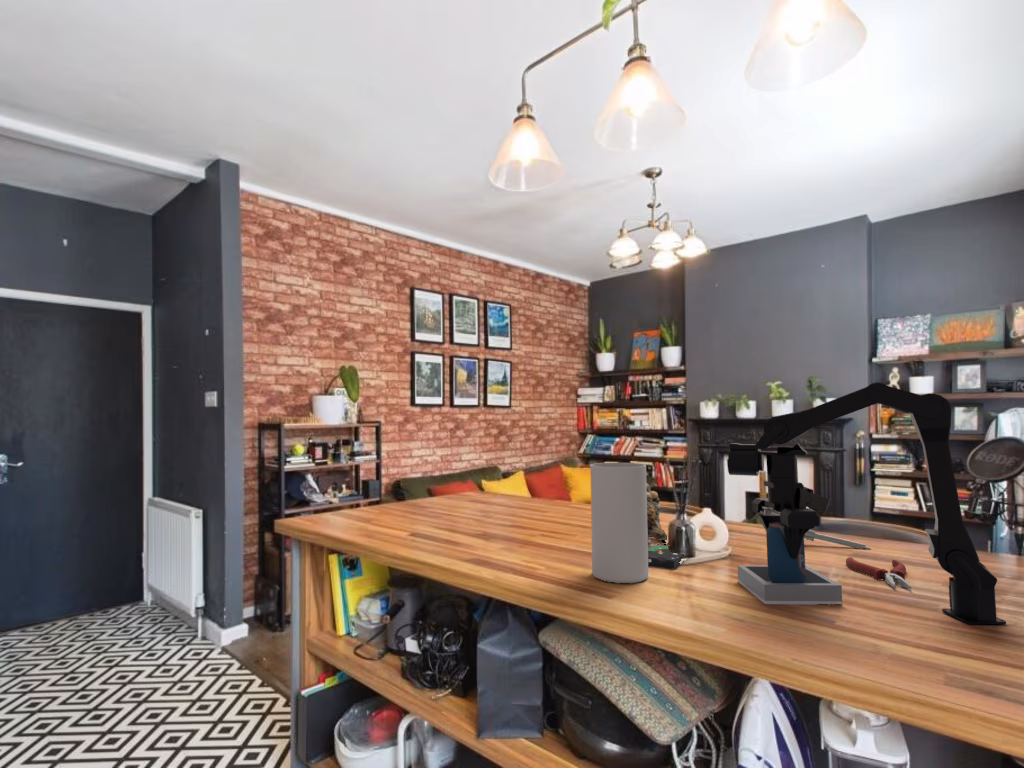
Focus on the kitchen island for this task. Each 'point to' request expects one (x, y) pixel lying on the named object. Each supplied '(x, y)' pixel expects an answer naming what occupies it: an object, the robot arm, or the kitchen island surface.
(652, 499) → the owl figurine
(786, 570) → the soda can
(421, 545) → the kitchen island surface
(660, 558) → the disk drive
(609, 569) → the cylinder vase
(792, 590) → the tray
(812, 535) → the caliper
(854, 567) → the pliers
